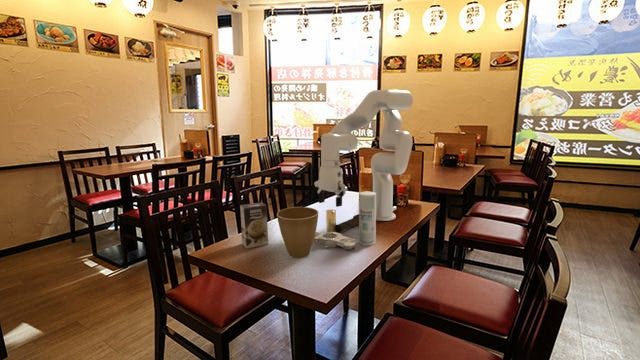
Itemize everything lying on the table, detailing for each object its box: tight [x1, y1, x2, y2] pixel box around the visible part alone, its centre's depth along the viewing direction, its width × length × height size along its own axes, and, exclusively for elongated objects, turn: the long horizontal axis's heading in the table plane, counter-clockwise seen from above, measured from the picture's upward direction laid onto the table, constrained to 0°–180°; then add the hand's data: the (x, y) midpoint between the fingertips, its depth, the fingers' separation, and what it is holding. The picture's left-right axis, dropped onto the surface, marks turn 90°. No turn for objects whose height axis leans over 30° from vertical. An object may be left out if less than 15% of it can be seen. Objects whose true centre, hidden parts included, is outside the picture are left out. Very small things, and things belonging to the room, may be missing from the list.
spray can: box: [358, 190, 377, 246], centre depth 137 cm, size 6×6×20 cm
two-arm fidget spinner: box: [313, 231, 357, 251], centre depth 140 cm, size 9×24×3 cm, turn 47°
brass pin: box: [325, 209, 337, 232], centre depth 150 cm, size 4×4×10 cm
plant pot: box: [276, 206, 319, 259], centre depth 128 cm, size 15×15×16 cm
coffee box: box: [239, 202, 269, 249], centre depth 139 cm, size 9×6×16 cm
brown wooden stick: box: [336, 213, 359, 234], centre depth 157 cm, size 19×4×5 cm, turn 137°
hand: (330, 204), depth 148 cm, fingers open, 9 cm apart
